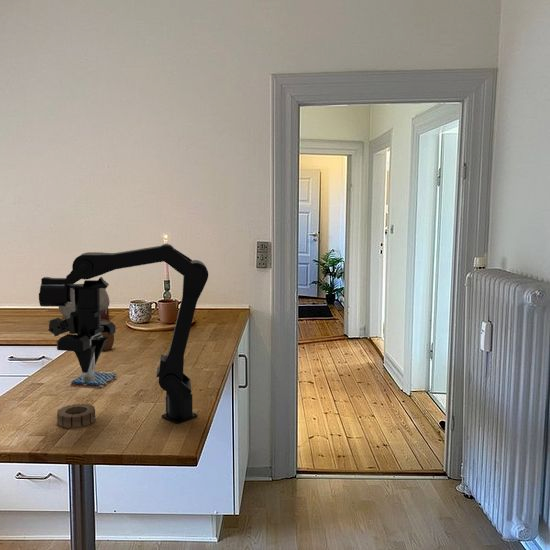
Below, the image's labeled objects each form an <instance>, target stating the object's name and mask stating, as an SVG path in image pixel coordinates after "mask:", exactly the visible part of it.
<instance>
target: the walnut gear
mask: <svg viewBox="0 0 550 550" xmlns="http://www.w3.org/2000/svg"><path fill="white" fill-rule="evenodd" d="M95 407H96V406H94V405H92V404H87V403H77V404H76V403H75V404H69V405H66V406H63V407H61V408H59V409H58V410H57V412H56V417H57V425H58V426H60V427H61V428H65V427H66V428H67V429H68V428H69V429H74V428H82V427H86V426H89V425H91V424H93V423H94V422H95V421H96V409H95Z"/></svg>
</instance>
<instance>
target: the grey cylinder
mask: <svg viewBox="0 0 550 550" xmlns="http://www.w3.org/2000/svg"><path fill="white" fill-rule="evenodd" d="M95 372H96V365H95V351H94V354H93V357H92V361H91V364H90V367H89V370H88V372H87V373H83V372H82V371H81V375H82V382H85V383H89V382H94V381H95Z"/></svg>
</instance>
